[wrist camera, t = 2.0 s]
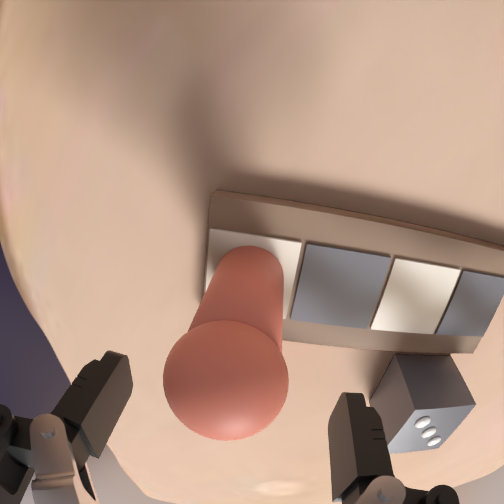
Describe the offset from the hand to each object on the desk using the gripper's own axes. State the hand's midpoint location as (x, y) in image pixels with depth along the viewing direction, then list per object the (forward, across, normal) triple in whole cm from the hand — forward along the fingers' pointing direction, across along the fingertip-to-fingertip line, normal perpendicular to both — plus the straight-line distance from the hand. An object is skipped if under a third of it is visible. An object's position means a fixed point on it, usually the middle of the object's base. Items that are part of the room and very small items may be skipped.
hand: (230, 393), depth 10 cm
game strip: (+10, -8, 0) cm, 13 cm away
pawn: (+9, 0, 0) cm, 9 cm away
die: (+11, -15, +9) cm, 20 cm away
